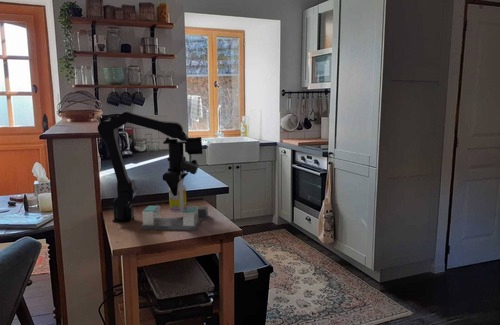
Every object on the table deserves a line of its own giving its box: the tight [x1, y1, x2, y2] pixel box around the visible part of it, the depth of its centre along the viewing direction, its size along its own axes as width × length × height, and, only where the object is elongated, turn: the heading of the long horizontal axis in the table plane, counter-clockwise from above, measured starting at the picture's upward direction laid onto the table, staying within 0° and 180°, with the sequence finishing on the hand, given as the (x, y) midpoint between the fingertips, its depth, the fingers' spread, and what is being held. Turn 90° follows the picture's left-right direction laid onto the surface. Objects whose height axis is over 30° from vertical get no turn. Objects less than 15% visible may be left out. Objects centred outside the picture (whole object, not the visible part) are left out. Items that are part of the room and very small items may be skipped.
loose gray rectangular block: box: [194, 206, 209, 220], centre depth 154 cm, size 5×4×4 cm
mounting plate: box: [140, 205, 201, 232], centre depth 144 cm, size 20×9×7 cm, turn 86°
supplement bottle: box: [168, 179, 188, 213], centre depth 152 cm, size 7×7×13 cm
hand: (177, 193), depth 152 cm, fingers closed on supplement bottle, 7 cm apart
